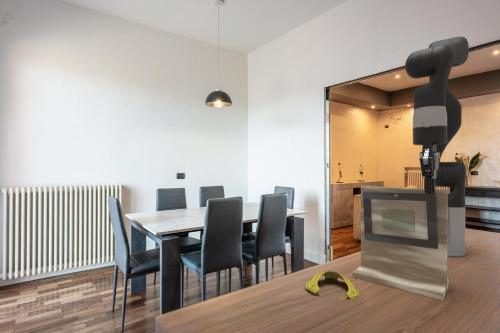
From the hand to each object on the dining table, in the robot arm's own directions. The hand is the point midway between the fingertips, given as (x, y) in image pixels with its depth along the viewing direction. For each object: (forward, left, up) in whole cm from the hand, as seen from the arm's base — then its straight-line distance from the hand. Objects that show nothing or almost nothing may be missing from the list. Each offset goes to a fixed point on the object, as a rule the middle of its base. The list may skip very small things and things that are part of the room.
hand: (429, 193), depth 74 cm
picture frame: (0, -7, -14) cm, 16 cm away
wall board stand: (-2, -8, -25) cm, 27 cm away
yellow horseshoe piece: (+14, -20, -26) cm, 36 cm away
